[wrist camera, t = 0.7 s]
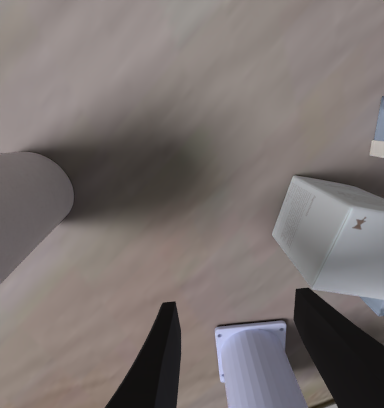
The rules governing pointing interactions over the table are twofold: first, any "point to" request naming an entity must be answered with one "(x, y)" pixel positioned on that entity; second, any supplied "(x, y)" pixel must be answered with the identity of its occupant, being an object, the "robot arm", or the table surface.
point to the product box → (334, 236)
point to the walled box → (380, 148)
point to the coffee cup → (29, 204)
